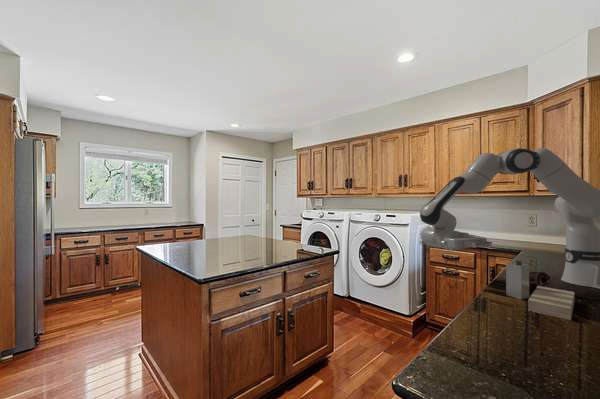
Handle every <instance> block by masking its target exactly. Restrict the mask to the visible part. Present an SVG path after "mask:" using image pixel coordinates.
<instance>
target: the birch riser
mask: <svg viewBox="0 0 600 399" xmlns="http://www.w3.org/2000/svg"><path fill="white" fill-rule="evenodd" d="M574 306H575V291H570V290H566V289H559V288H555V287H554V288H552V287H549V288H547V287H541V286H537V288H535V289H534V290H533V293H532V294H531V295H530V296H529V298H528V300H527V307H528V308H527V310H528V312H530V311H532V312H531V313H535V312H536V313H537V314H541V315H544V316H549V317H554V318H559V319H562V320H568V321H572V316H573V311H574ZM536 313H535V314H536Z"/></svg>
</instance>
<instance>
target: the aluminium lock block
mask: <svg viewBox="0 0 600 399" xmlns="http://www.w3.org/2000/svg"><path fill="white" fill-rule="evenodd" d="M505 268H506V269H505V270H506V271H505V272H506V273H505V274H506V276H505V279H506V280H505V291H506V292H505V295H507V297H510V296H511V297H510V298H514V299H518V300H525V299H529V298H530V285H529V273H530V264H528V263H523V262H522V261H521V260H513V261H512V262H507V263H506V264H505Z"/></svg>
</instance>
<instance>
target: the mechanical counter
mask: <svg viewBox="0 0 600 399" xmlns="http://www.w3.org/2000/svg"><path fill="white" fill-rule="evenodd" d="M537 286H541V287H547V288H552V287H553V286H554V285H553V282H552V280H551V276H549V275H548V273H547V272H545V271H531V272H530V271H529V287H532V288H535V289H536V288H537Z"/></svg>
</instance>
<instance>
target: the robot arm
mask: <svg viewBox="0 0 600 399" xmlns="http://www.w3.org/2000/svg"><path fill="white" fill-rule="evenodd" d="M527 172H530V173H531V174H532V175H534V176H535V177H536V179H537V180H538V181H539V182H540V183H541V184H542V185H543V186H544V187H545V188H546V189H547V190H548V192H550V193H552V194H554V195H556V196H558V197H557V198H555V201H554V204H553V206H554V208H555V211H557V212H558V213H559V216H561V219H562V222H563V225H564V230H565V244H566V245H565V248H564V259H565V261H564V262H565V265H564V268H563V269H564V270H563V273H562V275H561V279H560V280H561V281H563V282H565V283H569V284H573V285H576V286H583V287H589V288H594V289H600V229H599V228H598V227H597V226H596V224H595V221H594V219H600V189H599V188H597V187H596V186H594V185H592V184H591V183H590V182H588V181H586V180H584V179H583V178H581V177H580V176H579V175H578V174H576V173H575V172H574V170H572V169H571V168H570V166H568V165H567V163H566V162H565V161H564V160H563V159H562V158H560V157H559V156H558V155H557V154H555V153H554V152H553V151H551V150H550V149H548V148H545V147H538V148H536V149H533V150H532V149H531V150H530V149H527V148H520V147H519V148H515V149H514V148H513V149H508V150H506V151H504V152H501V153H498V154H497V155H496V154H494V153H491V152H483V153H481V154H480V155H479V156H477V158H475V159H474V161H472V163H471V164H469V166H468V167H467V169H466V170H465V171H464V172H463V173H462V174H461V175H459V176H455V177H454V178H452V179H451V180H450V181H448V183H447V184H446V185H445V186H444V187H443V188H442V189H440V191H439V192H438V193H437V194H436V195H435V196H434V197H433V198H432V199H431V200H430V201H429V202H427V203H426V204H424V206H422V207H421V210H420V212H419V213H420V214H419V216H420V220H421V221H422V222H423V223H424V224H427V225H428V226H427V227H425V228H423V229H421V231H420V240H421V241H422V243H423V244H425V245H427V246H429V247H433V248H442V249H444V250H450V251H456V252H457V251H459V250H461V249H465V248H466V249H467V248H473V249H475V248H478V247H479V248H480V247H492V246H493V242H492V241H489V240H487V238H486V237H485V236H479V235H475V234H470V233H469V232H464V231H463V232H462V231H458V230H455V228H456V226H457V219H456V216H454V215H453V214H452V213H451V212H449V211H447V210H445V209H444V207H445V206H446V205H447V204H448V203H449V202H450V201H451V200H452V199H453V198H454V197H455V196H456V195H457V194H461V193H467V194H478V193H481V192H483V191H484V190H485V189H486V188H487V187H488V186H489V184H490V183H491V181H492V180H493V179H494V177H495V176H497V174H501V175H518V174H525V173H527Z"/></svg>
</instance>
